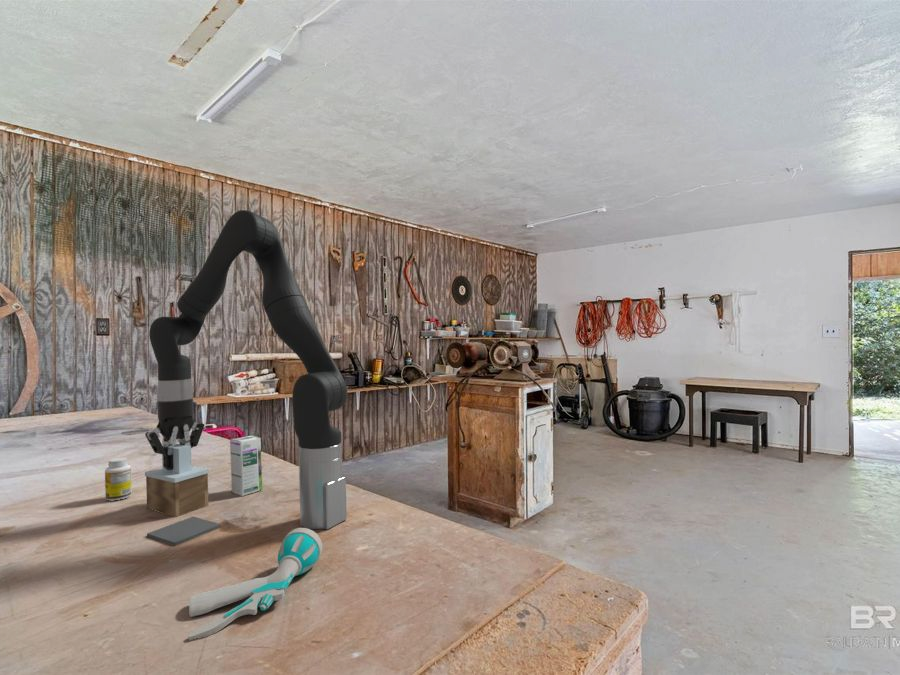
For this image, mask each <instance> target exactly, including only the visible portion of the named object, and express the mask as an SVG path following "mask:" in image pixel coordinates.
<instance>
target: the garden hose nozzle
mask: <svg viewBox="0 0 900 675" xmlns="http://www.w3.org/2000/svg"><path fill="white" fill-rule="evenodd" d="M322 552H323V543H322V539H321V538H320V536H319V535H318V533H317V532H315V531H314V530H313V529H309V528H305V527H297V528H294V529H292V530H291V531H289V532H288V533H287V534H286V535H285V537H283V539H282V542H281V545H280V547H279V550H278V553H277V564H278V566H277V569H276V570H275V571H274V572H273V573H272V574H269V575H268V576H264V577H258V578H257V577H255V578H253V579H250V580H246V581H242V582H239V583H236V584H233V585H229V586H222V587H219V588H217V589H214V590H209V591H208V590H207V591H203V592H200V593H197V594H194V595H191V597H190V600H189V605H188V614H189V617H190V618H194V617H197V616H201V615H205V614H207V613H210V612H212V611H215V610H217V609H219V608H222V607H225V606H227V605H231V604H233V603H236V602H238V601H241V600H244V599H246V600H245V601H244V602H242V603H241V604H239V605H237V606H235V607H234V608H232V609H230V610H229V611H226V612H225V613H223V614H222V615H220V616H218V617H216V618H215V619H213V620H211V621H210V622H208V623H206V624H204V625H202V626H200V627H198V628H197V629H195V630H194V631H192V632H190V633H189V634H188V636H187V637H188V638H187V639H188V641H194V640H193V639H195V640H197V639H196V638H199V639H202V637H203V638H205V637H206V638H207V637H209V636H212V635H214V634H216V633H217V632H219V631H220V630H221V631H222V629H223V628H225V627H226V626H228V625H229V624H230V623H232V622H233V621H235V620H236V619H238V618H240V617H243V616H246V615H253V616H255V615H257V614H258V608H260V611H266V610H268V609H269V608H270V607H271V605H272V604H273V603H274V602H275V601H279V600H282V599H283V598H284V597H285V595H287V589H288V587H289V585H290V584H291V582H292V581H293V579H294V577H296V576H297V577H298V576H300V575H303V574H305V573H307V571H309V570H310V569H312V567H314V565H316V563H318V561H319V559H320V557H321V555H322ZM247 598H248V599H247Z"/></svg>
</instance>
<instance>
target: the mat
mask: <svg viewBox="0 0 900 675" xmlns="http://www.w3.org/2000/svg"><path fill="white" fill-rule="evenodd" d="M221 527H222V524H221V523H219V522H216V521H215V522H214V521H211V520H208V519H204V518H201V517H197V516H191V517H188V518H187V517H186V518H185V519H183V520H179V521H177V522H175V523H171V524H168V525H166V526H164V527H160V528H157V529H155V530H152V531H150V532H146V537H148V538H150V539H153V540H157V541H160V542H163V543H166V544H169V545H171V546H178V545H181V544H183V543H185V542H187V541H190V540H193V539H195V538H197V537H200V536H203V535H205V534H208V533H210V532H212V531H214V530H217V529H219V528H221Z"/></svg>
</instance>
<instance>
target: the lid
mask: <svg viewBox="0 0 900 675" xmlns="http://www.w3.org/2000/svg"><path fill="white" fill-rule="evenodd" d="M172 455H173V470H166V468H164V466H163V455H162V454H161V457H162V458H161V463H162V464H161V465H162V466H161V467H159V468H155V469H154V468H153V469H152V470H147V471H145V472H144V477H146V476H147V477H151V478H156V479H160V480H164V481H169V482H173V483H176V482H180V481H183V480H186V479H190V478H193V477H197V476H200V475H204V474H207V473H208V474H209V473H210V469H209V468H205V467H201V466H195V465H192V448H191V446H187V445H180V444H179V443H175V445H174V447H173V453H172Z"/></svg>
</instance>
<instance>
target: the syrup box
mask: <svg viewBox="0 0 900 675" xmlns="http://www.w3.org/2000/svg"><path fill="white" fill-rule="evenodd" d="M261 439H262V438H261V437H259V436H256V435H248V436H243V437H238V438H232V439H231V438H230V440H229V449H230V450H229V451H230V452H229V454H230V476H231V478H230V479H231V480H230V481H231V483H230V484H231V493H233V494H236V496H237V495H238V496H240V497H244V496H247V495H249V494H250V495H251V494H253V493H257V491H258V492H261V491H262V490H263V476H262V474H263V472H262V471H263V469H262V441H261ZM260 490H261V491H260Z"/></svg>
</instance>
